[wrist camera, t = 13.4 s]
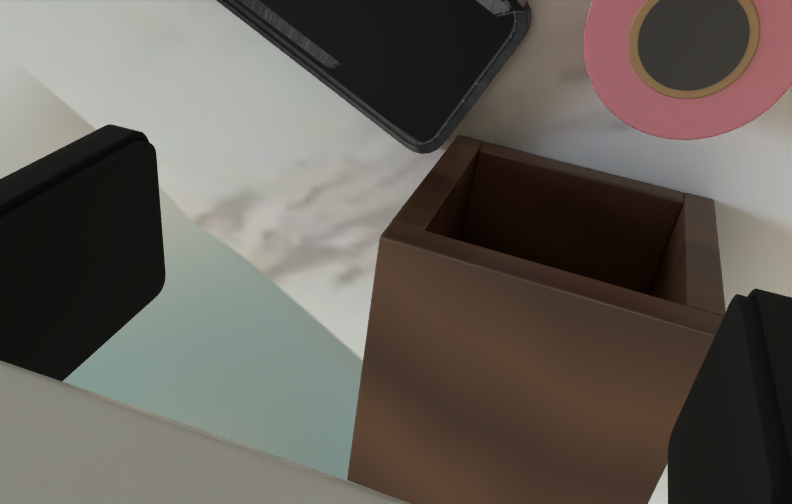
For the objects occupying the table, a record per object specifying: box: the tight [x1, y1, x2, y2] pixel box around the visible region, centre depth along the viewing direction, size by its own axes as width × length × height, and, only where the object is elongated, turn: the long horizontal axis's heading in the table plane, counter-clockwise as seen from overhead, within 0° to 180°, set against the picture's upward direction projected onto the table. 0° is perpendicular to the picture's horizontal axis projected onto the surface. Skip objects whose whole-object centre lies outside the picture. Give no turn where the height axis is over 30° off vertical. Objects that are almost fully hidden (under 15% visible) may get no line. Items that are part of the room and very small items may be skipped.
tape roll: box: [583, 0, 792, 140], centre depth 24 cm, size 7×7×5 cm
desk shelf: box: [347, 136, 726, 504], centre depth 29 cm, size 12×11×10 cm
